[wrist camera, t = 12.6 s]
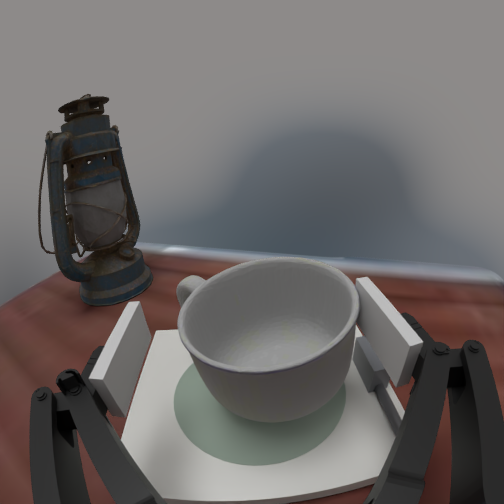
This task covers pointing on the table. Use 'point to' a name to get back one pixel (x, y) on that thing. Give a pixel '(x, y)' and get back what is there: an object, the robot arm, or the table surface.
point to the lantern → (93, 206)
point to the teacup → (270, 335)
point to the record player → (256, 435)
